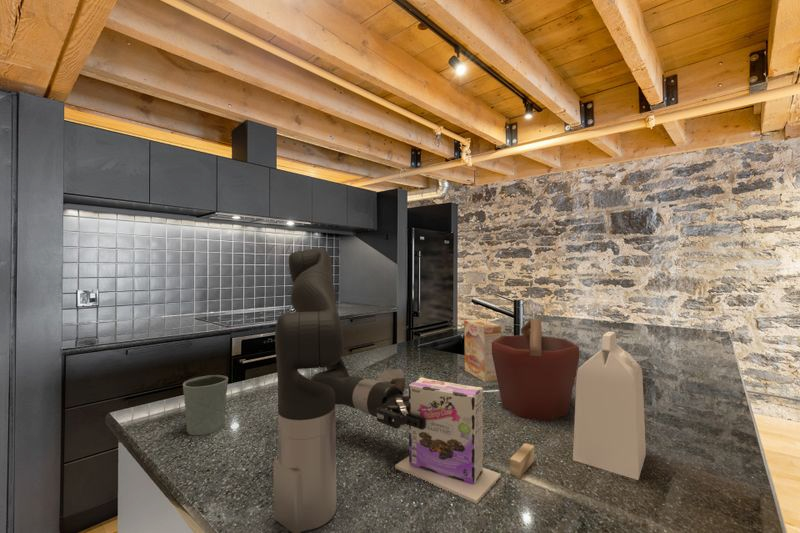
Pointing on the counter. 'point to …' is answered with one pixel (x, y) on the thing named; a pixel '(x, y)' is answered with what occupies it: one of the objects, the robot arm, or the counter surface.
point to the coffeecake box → (480, 348)
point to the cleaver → (393, 377)
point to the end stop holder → (522, 460)
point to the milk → (610, 411)
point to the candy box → (447, 429)
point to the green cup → (205, 404)
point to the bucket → (535, 372)
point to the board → (454, 481)
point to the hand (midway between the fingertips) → (437, 416)
